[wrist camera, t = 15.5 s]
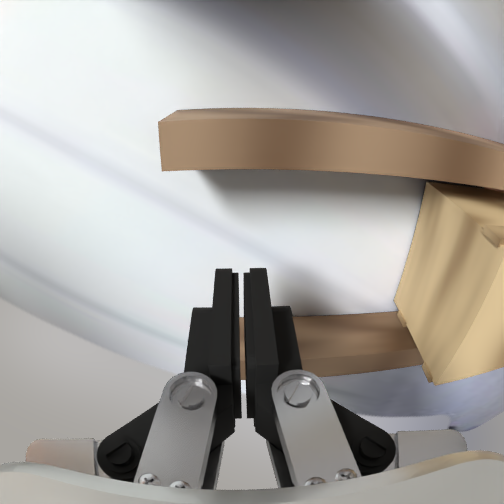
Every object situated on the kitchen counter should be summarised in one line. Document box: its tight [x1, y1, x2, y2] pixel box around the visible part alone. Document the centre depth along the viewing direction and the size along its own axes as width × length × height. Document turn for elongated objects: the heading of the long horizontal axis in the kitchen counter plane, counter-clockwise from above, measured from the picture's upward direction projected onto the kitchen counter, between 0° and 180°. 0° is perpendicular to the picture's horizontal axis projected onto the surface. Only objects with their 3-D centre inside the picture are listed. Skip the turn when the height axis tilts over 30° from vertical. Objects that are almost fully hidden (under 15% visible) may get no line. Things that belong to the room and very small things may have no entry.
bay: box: [158, 108, 504, 380], centre depth 13 cm, size 22×12×4 cm, turn 89°
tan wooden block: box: [394, 182, 504, 386], centre depth 12 cm, size 9×7×6 cm
